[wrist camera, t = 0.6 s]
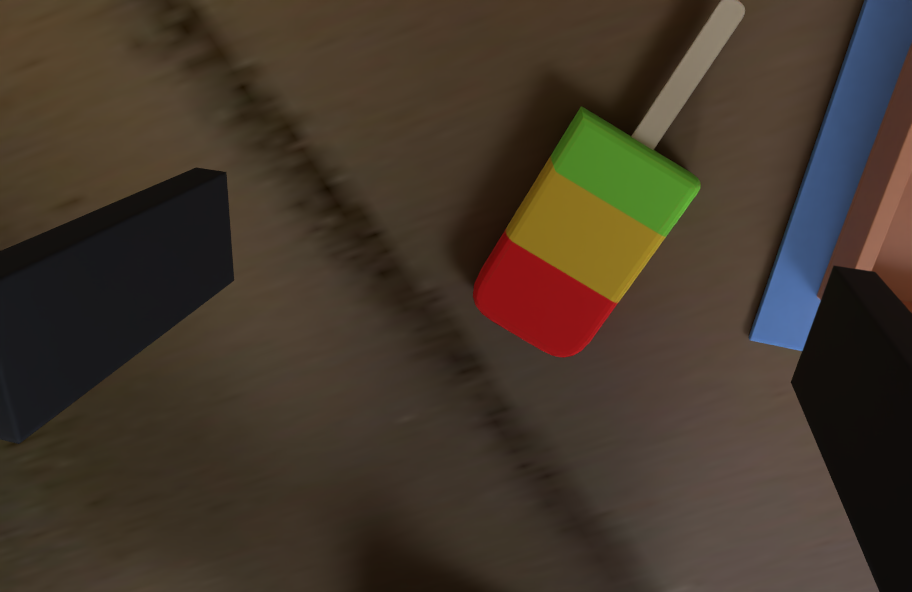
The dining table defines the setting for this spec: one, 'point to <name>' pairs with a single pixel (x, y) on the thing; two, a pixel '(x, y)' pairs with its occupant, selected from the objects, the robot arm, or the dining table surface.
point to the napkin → (834, 172)
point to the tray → (884, 201)
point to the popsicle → (595, 215)
